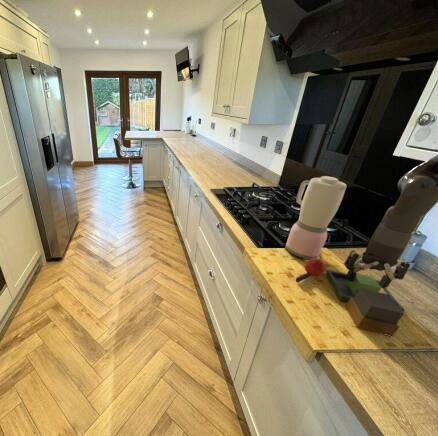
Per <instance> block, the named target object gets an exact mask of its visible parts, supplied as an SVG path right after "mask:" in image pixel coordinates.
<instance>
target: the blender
mask: <svg viewBox="0 0 438 436" xmlns="http://www.w3.org/2000/svg"><path fill="white" fill-rule="evenodd" d="M306 186H307V188H306ZM347 187H348V186H347V184H346V183H344V182H343V181H340V180H339V179H338V178H337V177H334V176H328V175H322V176H320V177H313V178H311V179H310V180H308V179H307V180H303V181H302V182H301V183H300V186H299V188H298V191H297V194H296V198H295V202H296V203H297V205H300V211H299V216H298V220H297V221H296V222H295V223H294V224H293V225H292V227H291V228H290V229H289V230H288V233H289V234H288V237H287V241H286V243H285V247H284V249H285V250H287V251H288V252H289V253H291V254H293V255H295V256H296V257H299V258H302V261H304V260H308V261H309V260H311V259H316V258H317V257H320V256H321V252H322V250H323V248H324V246H325V243H326V241H327V238H328V229H327V228H328V226H329V224H330V223H331V221H332V220H333V218H334V217H335V215H336V214H337V212H338V210H339V207H340V205H341V203H342V200H343V198H344V196H345V193H346V192H345V191H346V190H347ZM305 188H306V190H305ZM303 194H304V195H303ZM302 197H303V199H302Z"/></svg>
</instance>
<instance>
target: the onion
mask: <svg viewBox="0 0 438 436" xmlns="http://www.w3.org/2000/svg"><path fill="white" fill-rule="evenodd" d="M321 259H322V258H321V257H320V256H319V257H317V258H316V259H310V260H309V261H305V262H306V263H304V269H305V272H306V273H310V274H311V277H320V276H322V275H323V274H324V273H325V271H326V268H325V267H326V265H325V263H324V261H323V260H321Z"/></svg>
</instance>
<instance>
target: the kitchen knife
mask: <svg viewBox="0 0 438 436" xmlns="http://www.w3.org/2000/svg"><path fill="white" fill-rule="evenodd" d="M326 268H327V266H325V269H326ZM311 277H312V276H311V274H310V273H307V272H306V273H303V274H301V275H300V276H297V277H296V278H295V282H296V283H300V282H302V281H305V280H307V279H309V278H311Z"/></svg>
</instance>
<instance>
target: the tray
mask: <svg viewBox="0 0 438 436" xmlns="http://www.w3.org/2000/svg"><path fill="white" fill-rule="evenodd" d="M346 275H347V273H343V272H339V271H335V270H334V271H333V270H329V269H328V270H326V272H325V277H326V276H327V277H326V278H327V280H328V282H329V284H330V286H331V288H332V290H333V292H334V294H335V295H336V297H337V299H338V301H339V302H343V303H346V304H347V303H348V301H349V299H350V298H351V297H352V298H354V297H355V295H353V293H352V292H351V290H350V289H349V287H348V285H347V283H348V281H349V280H348V278H347V276H346ZM375 280H376V281H377V283H378V284H379V282H380V280H378V279H375ZM382 290H383V291H384V292H385V294H388V295H390V297H391V298H392V299H393V300H394V302H395V303H396V304H397V305H398V306H399V308H400V309H401V310H402V311H403V312H404V311H405V309H404V307H403V306H402V305H401V304H400V302H398V301H397V299H396V298H395V297H394V296H393V294H392V293H391V292H390V290H388V287H386V288H382Z"/></svg>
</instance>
